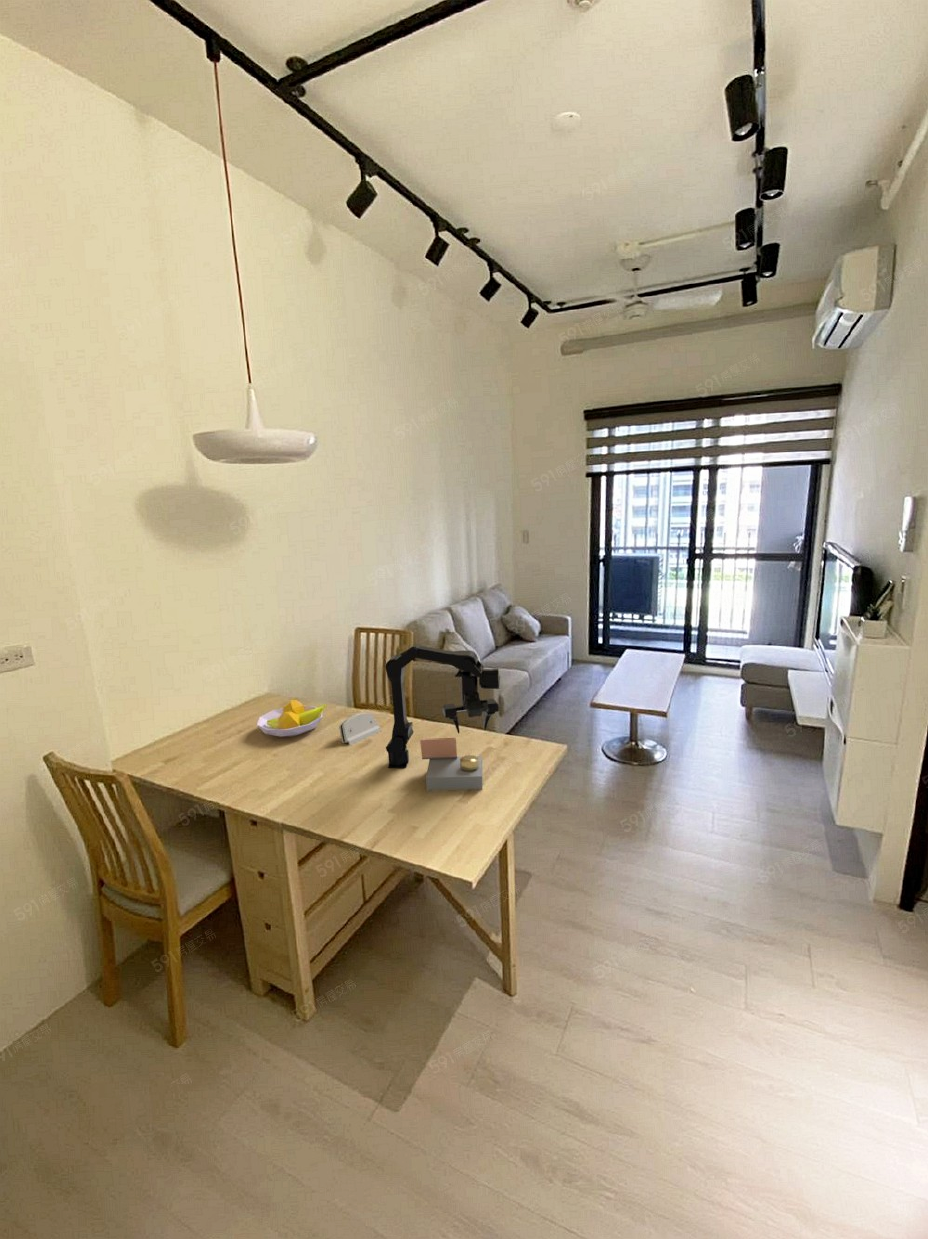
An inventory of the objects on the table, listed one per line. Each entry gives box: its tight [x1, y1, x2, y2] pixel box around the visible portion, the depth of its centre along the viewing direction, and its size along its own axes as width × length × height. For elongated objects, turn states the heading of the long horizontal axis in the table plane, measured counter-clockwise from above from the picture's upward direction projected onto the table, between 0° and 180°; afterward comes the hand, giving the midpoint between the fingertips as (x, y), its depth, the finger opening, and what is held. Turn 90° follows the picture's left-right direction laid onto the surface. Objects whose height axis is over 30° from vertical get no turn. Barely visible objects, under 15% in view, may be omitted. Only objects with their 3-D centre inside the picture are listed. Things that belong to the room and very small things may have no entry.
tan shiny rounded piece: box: [460, 754, 479, 772], centre depth 182 cm, size 6×6×7 cm
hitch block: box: [425, 755, 483, 791], centre depth 184 cm, size 18×14×4 cm
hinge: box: [338, 712, 382, 746], centre depth 221 cm, size 17×5×10 cm, turn 140°
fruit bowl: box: [256, 699, 327, 737], centre depth 230 cm, size 28×27×11 cm
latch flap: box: [419, 737, 458, 760], centre depth 187 cm, size 12×1×9 cm, turn 88°
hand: (471, 731), depth 190 cm, fingers open, 9 cm apart
